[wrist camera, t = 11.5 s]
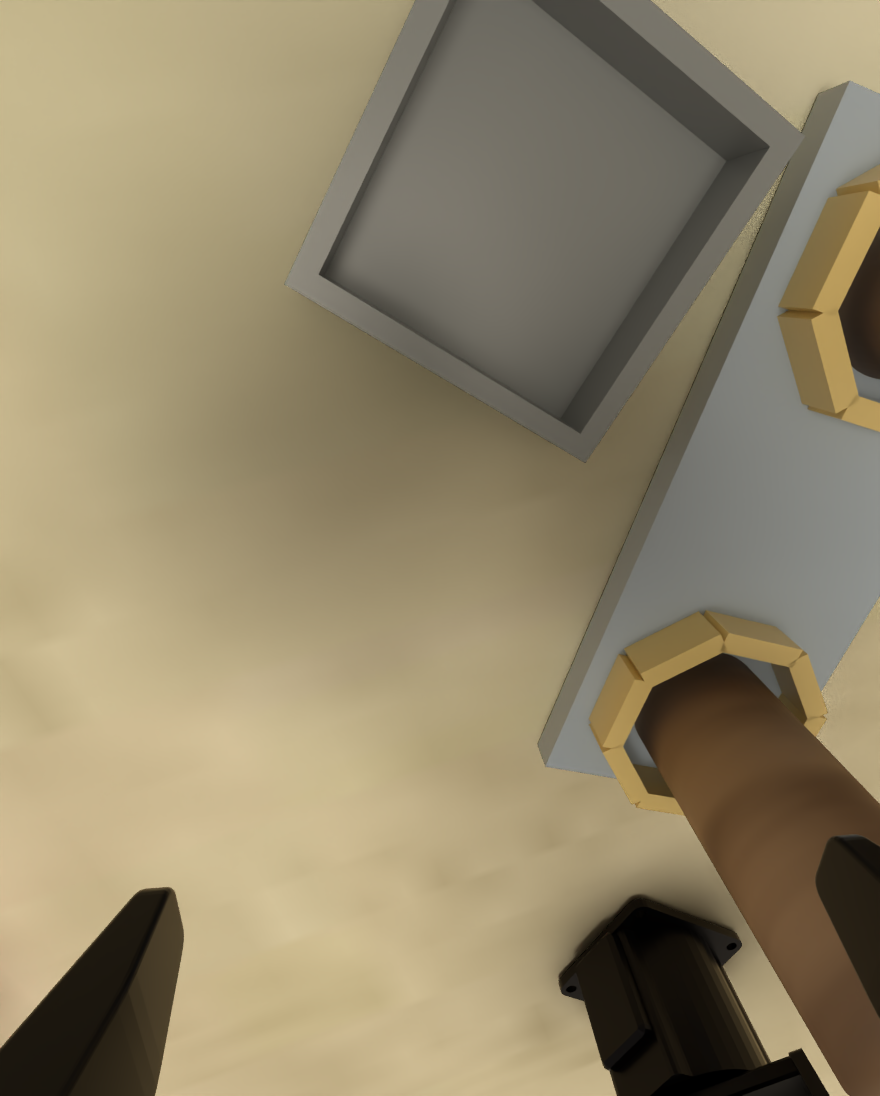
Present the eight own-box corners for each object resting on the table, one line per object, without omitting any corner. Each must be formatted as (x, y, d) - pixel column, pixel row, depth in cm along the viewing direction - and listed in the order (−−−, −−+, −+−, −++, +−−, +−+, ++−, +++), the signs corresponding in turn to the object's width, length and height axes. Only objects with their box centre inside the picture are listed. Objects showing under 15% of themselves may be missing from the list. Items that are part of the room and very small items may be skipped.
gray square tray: (747, 156, 17) (805, 136, 15) (561, 441, 20) (585, 463, 17) (466, -81, 15) (483, -147, 12) (296, 283, 17) (284, 284, 15)
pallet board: (737, 779, 26) (775, 832, 24) (537, 744, 24) (555, 796, 22) (1076, 206, 18) (1185, 195, 16) (818, 93, 17) (895, 61, 14)
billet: (782, 682, 23) (1105, 1001, 13) (702, 771, 24) (936, 1124, 14) (687, 631, 22) (961, 942, 11) (608, 729, 23) (792, 1083, 13)
